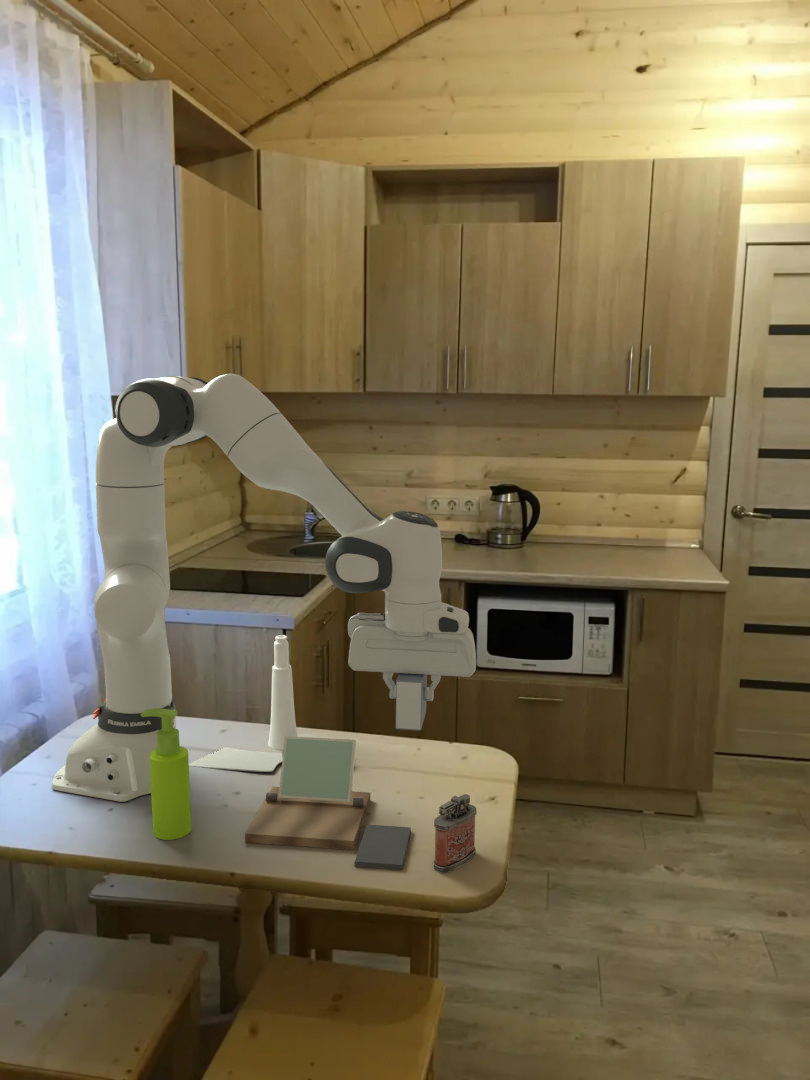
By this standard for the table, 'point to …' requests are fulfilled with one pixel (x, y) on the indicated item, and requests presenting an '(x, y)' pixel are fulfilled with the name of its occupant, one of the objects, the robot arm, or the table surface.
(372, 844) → the pad
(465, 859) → the lighter
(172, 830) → the soap dispenser
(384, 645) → the robot arm
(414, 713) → the grey rectangular prism
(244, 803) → the table surface
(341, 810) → the hinge board
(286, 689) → the cosmetic bottle
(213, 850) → the table surface
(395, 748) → the table surface
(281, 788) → the tile
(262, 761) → the kitchen cleaver
